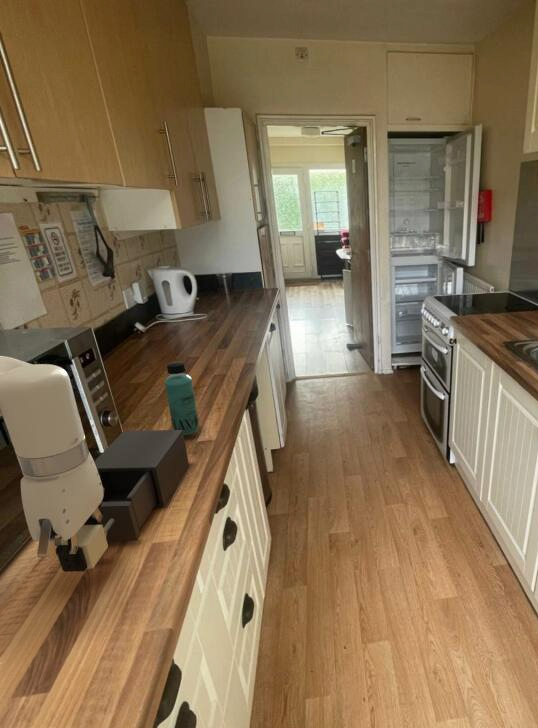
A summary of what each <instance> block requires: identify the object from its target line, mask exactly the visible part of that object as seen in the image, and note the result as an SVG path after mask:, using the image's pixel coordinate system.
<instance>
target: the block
mask: <svg viewBox="0 0 538 728" xmlns="http://www.w3.org/2000/svg"><path fill="white" fill-rule="evenodd" d="M76 534H77V543H78V548H82V550H83V554H84V557H85V560H86V563H87V569H94V568H95V567H96V565H97V564H98V562H99V561H100V559H101V558H102V556H103V555H104V554H105V552H106V550H107V549H108V548H109V543H108V542H107V540H106V537H105V533H104V529H103V525H83V526H82V527H81V528H80V529H79V530H78V532H77V533H76ZM61 545H68V540H66V541H64V540H63V539H61ZM56 556H57V559H58V562H59V564H60V561H59V558H58V555H56ZM60 568H61V569H62V567H61V564H60ZM87 569H86V570H87Z"/></svg>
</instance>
